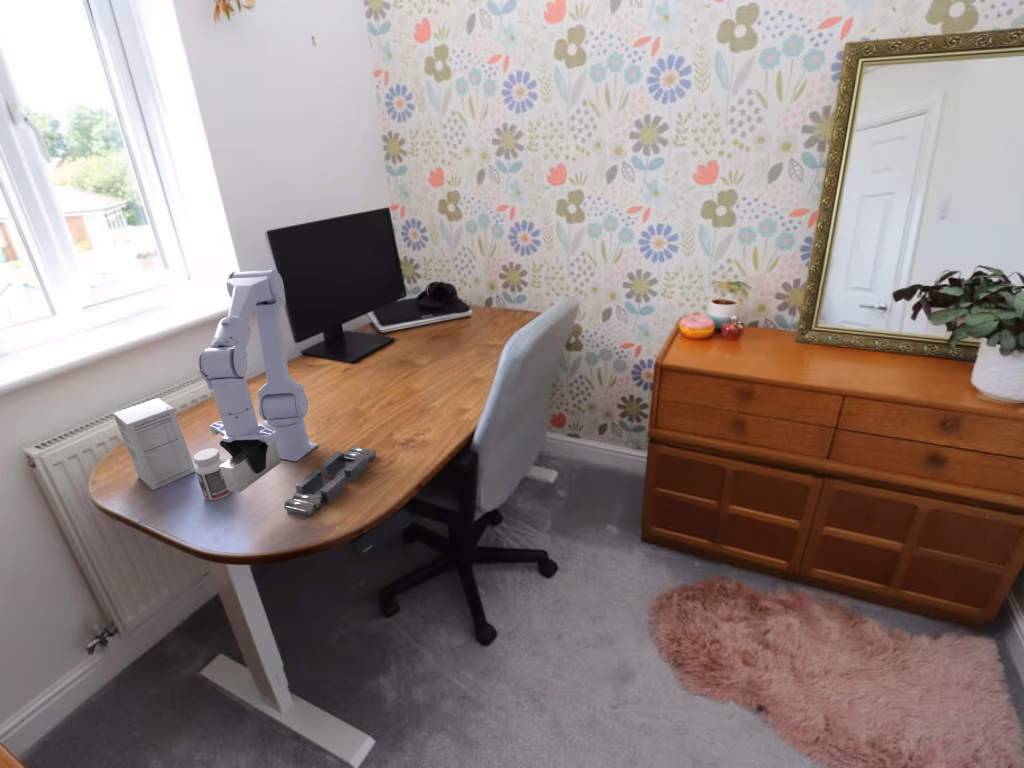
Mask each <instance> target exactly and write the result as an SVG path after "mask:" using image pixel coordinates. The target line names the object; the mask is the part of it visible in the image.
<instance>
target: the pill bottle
mask: <svg viewBox="0 0 1024 768" xmlns="http://www.w3.org/2000/svg"><path fill="white" fill-rule="evenodd" d="M193 462H194V463H195V464H196V465H195V466H194V467H195V472H194V473H195V475H196V478H197V480H198V484H199V486H200V489H201V493H202V495H203V498H204V499H206V500H208V501H216V500H221V499H223V498H225V497H227V496H228V495H230V494H231V493H232V492H233V491H228V490H227V487H226V484H225V481H224V478H223V475H222V472H221V469H220V465H222V464H223V463H225V462H226V461H225V460H224V459H223V458H222V457H221V454H220V451H219V450H218V449H217V448H214V447H213V448H206V449H203V450H200V451H198V452H196V453H195V454H194V456H193Z"/></svg>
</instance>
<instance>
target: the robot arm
mask: <svg viewBox="0 0 1024 768" xmlns="http://www.w3.org/2000/svg"><path fill="white" fill-rule="evenodd" d="M226 289H227V292H228V295H229V298H230V303H229V308H228V312H227V316H226V317H223V318H221V319H220V320H219V322H218V324H217V327H216V330H215V332H214V335H213V337H212V340H211V342H210V343H211V344H210V345H209V347H208V348H205V349H204V351H201V352H200V354H199V357H198V368H199V369H198V371H199V374H200V376H201V377H202V379H203V380H204V381H205V382H206V385H207V388H208V389H209V390H211V391H212V392H213V396H214V398H215V403H216V407H217V409H218V412H219V416H220V418H221V421H218V420H217V421H215V422H214V423H212V424H211V425H209V429H210V432H211V434H212V435H213V436H216V435H217V436H218V435H219V434H220V435H222V438H221V439H222V440H221V441H220V442H219V446H220V447H222V448H223V449H224V450H225V451H226V452H228V453H229V454H230V456H231V458H233V457H234V456H236V455H237V454H239V453H240V452H242V451H244V452H245V454H246V455H247V456H248V458H249V460H250V462H251V465H252V467H253V470H254V471H255V473H257V474H259V473H260V472H262V471H263V470H264V469H266V454H267V449H268V445H272V444H273V443H275V442H276V444H277V448H278V452H279V456H280V460H286V461H292V462H297V461H299V460H301V458H303V457H304V456H306V455H307V454H309V453H310V452H311V451H313V449H315V448H316V447H318V446H319V445H318V443H317V442H312V441H309V437H308V434H307V433H308V432H307V428H306V424H305V420H304V418H305V417H306V415H307V414H308V411H309V402H308V397H307V394H306V393H305V392H306V391H305V387H304V385H303V384H302V383H300V382H298V381H296V380H294V379H293V378H291V377H290V373H289V368H288V359H287V353H286V345H285V340H284V334H283V327H282V320H281V315H280V314H281V311H280V310H281V308H283V307H285V306H286V293H285V286H284V281H283V278H282V276H281V274H280V273H279V271H277V270H276V269H275V268H274V269H273V268H272V269H270V270H269V269H267V270H254V271H253V270H252V271H230V272H229V273H228V275H227V277H226ZM253 313H254V314H255V317H256V321H257V326H258V327H257V328H258V334H259V340H260V346H261V352H262V357H263V364H264V370H265V376H266V383H264V384H263V385H262V386H261V387H260V388H259V390H258V391H257V399H258V401H257V411H258V414H259V416H260V418H261V419H262V420H263V423H262V424H261V423H260V422H258V418H257V415H256V412H255V408H254V404H253V400H252V397H251V393H250V389H249V385H248V382H247V377H246V374H247V372H248V351H247V347H248V344H249V342H250V338H251V334H252V328H251V326H250V324H249V321H250V319H251V316H252V314H253Z"/></svg>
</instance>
